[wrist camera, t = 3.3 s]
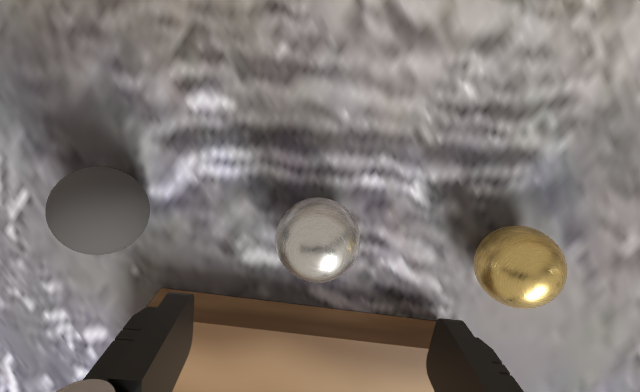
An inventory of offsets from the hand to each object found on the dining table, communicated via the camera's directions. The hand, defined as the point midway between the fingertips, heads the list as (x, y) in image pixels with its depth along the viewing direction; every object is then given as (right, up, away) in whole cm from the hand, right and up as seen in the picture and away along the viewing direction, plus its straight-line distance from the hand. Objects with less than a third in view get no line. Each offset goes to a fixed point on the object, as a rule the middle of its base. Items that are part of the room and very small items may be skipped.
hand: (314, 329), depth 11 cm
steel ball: (0, +2, +5) cm, 6 cm away
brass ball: (+10, +1, +6) cm, 12 cm away
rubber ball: (-10, +4, +4) cm, 11 cm away
